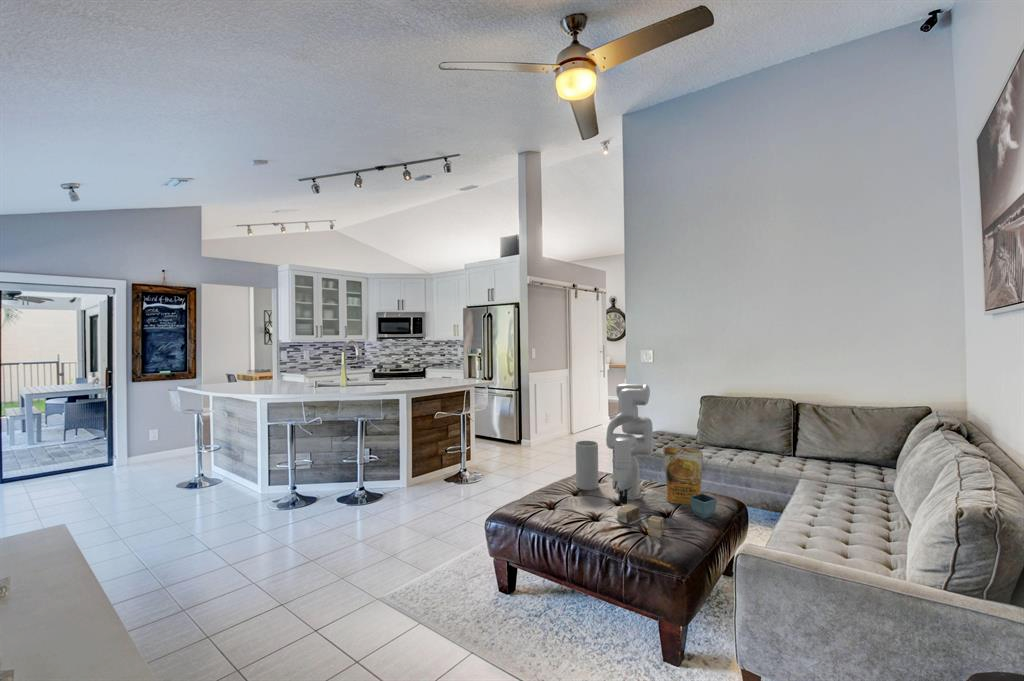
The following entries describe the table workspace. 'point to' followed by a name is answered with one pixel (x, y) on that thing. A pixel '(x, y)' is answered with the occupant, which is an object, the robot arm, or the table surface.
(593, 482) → the cylinder vase
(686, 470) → the pancake mix bag
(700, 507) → the flower pot
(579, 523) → the table surface
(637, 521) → the grey rectangular panel
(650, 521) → the oak block
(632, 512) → the walnut block
